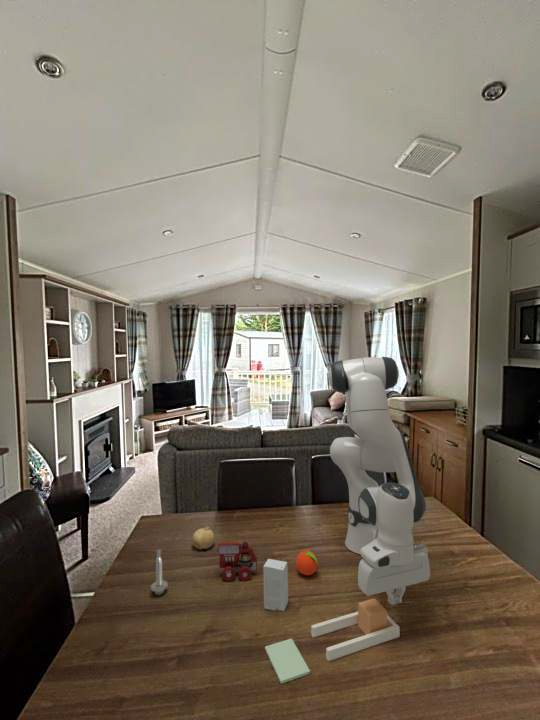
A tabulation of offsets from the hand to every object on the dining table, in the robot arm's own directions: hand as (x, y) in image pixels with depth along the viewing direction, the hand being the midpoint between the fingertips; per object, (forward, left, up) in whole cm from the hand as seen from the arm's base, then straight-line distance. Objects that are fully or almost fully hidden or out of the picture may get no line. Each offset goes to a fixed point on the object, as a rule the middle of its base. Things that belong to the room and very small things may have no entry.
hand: (394, 602), depth 96 cm
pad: (+29, 0, -6) cm, 29 cm away
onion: (+39, -57, -7) cm, 69 cm away
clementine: (+11, -28, -6) cm, 31 cm away
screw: (+56, -36, -6) cm, 67 cm away
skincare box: (+26, -18, -6) cm, 32 cm away
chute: (+12, 0, -6) cm, 13 cm away
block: (+7, 0, -6) cm, 9 cm away
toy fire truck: (+32, -36, -7) cm, 49 cm away
